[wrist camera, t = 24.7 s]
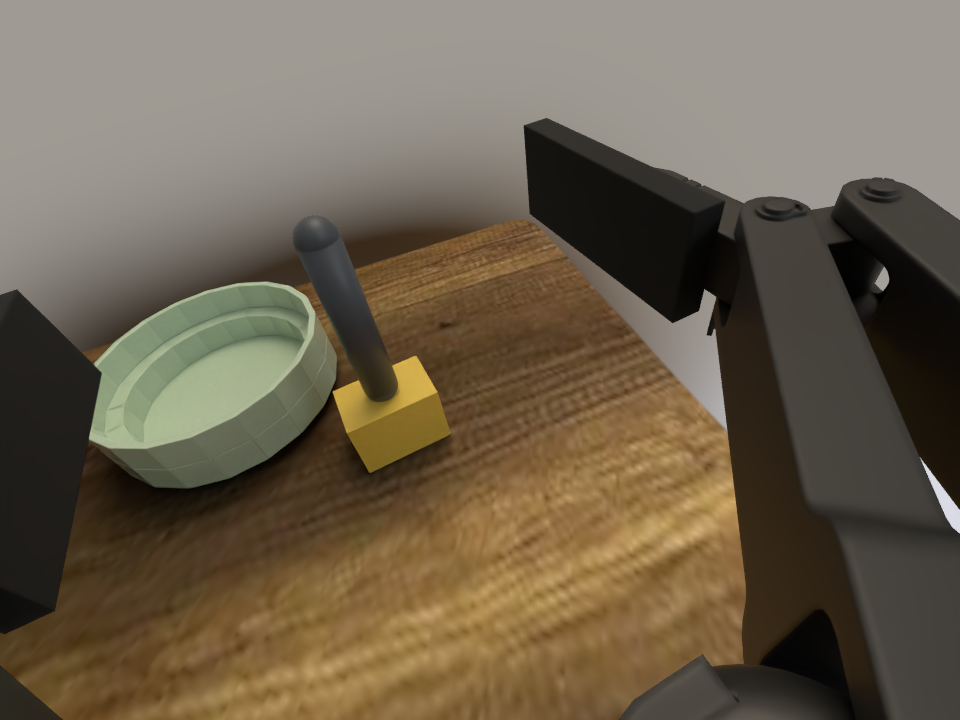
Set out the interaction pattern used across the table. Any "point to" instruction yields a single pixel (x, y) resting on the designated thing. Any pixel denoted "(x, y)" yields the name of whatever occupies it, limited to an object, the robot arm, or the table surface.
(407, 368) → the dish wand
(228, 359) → the bowl
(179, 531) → the table surface
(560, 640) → the table surface
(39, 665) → the table surface
